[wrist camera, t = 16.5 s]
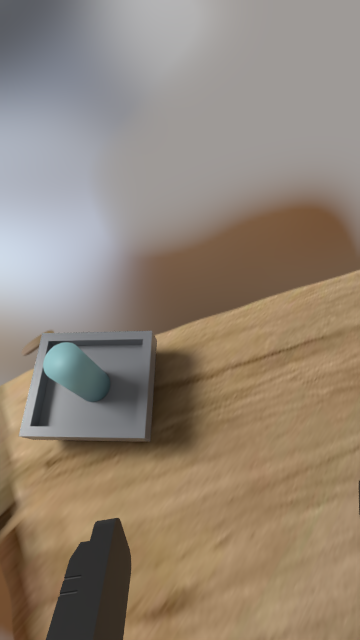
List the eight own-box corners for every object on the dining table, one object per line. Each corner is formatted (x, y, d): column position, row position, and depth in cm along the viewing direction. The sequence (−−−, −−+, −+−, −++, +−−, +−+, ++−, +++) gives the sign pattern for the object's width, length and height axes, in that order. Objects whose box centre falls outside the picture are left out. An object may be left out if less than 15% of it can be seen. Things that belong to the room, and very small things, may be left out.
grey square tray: (160, 348, 52) (152, 330, 46) (154, 444, 46) (144, 438, 40) (61, 349, 54) (42, 333, 48) (43, 442, 48) (18, 436, 42)
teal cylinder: (111, 369, 46) (84, 341, 37) (108, 401, 44) (78, 379, 35) (81, 370, 47) (47, 342, 38) (76, 402, 45) (39, 380, 36)
